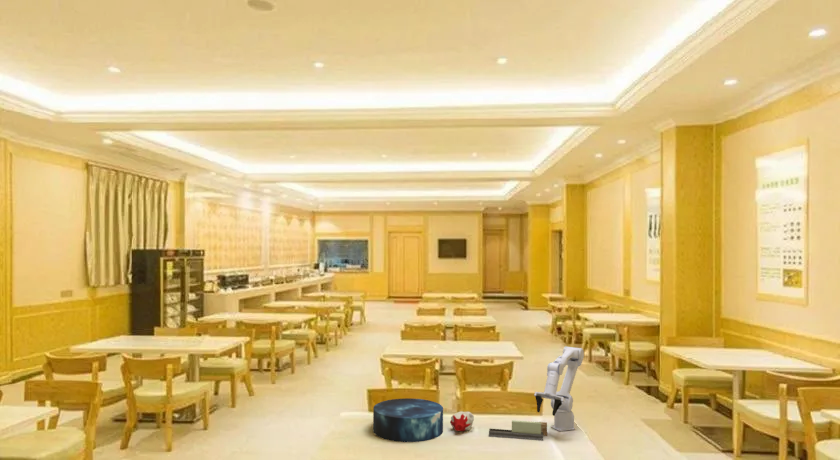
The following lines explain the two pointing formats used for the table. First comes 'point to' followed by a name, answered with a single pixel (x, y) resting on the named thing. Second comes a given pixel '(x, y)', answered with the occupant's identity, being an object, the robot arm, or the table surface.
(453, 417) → the rock with red coral
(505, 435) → the track
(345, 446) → the table surface
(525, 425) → the pale green long bar
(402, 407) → the cylinder
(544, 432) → the block
